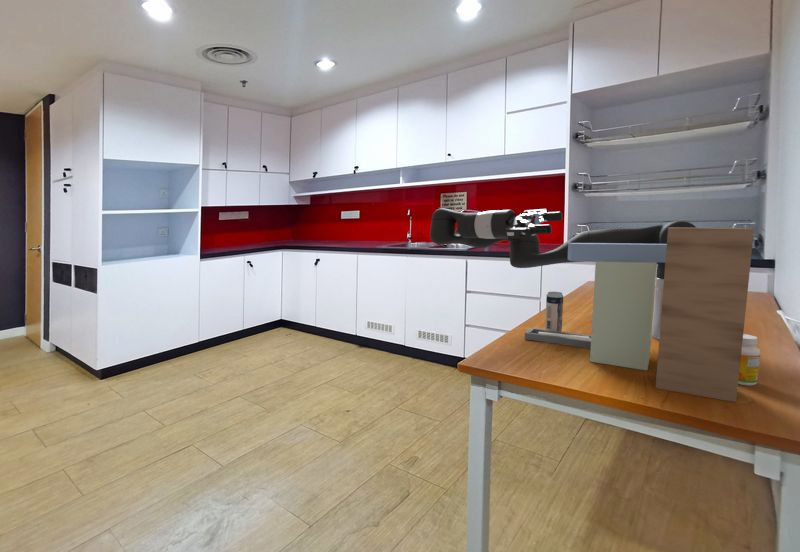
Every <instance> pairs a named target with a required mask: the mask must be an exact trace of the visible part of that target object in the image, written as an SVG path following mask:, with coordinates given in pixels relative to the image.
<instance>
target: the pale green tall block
mask: <svg viewBox="0 0 800 552" xmlns="http://www.w3.org/2000/svg"><path fill="white" fill-rule="evenodd" d="M657 266H658V262H604V261H595V266H594V269H595V270H594V284H593V299H592V300H593V303H592V320H591V334H590V335H591V349H590V353H589V362H590V363H591V362H592V363H598V364H603V365H611V366H615V367H616V366H617V367H623V368H629V369H634V370H642V371H648V369H649V363H650V358H651V345H652V325H653V313H654V300H655V286H656V272H657Z"/></svg>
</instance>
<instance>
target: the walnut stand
mask: <svg viewBox="0 0 800 552" xmlns="http://www.w3.org/2000/svg"><path fill="white" fill-rule="evenodd" d="M754 233H755V228H750V227H696V228H677V227H669V228H668V236H667V249H666V261H665V274H664V287H663V299H662V312H661V325H660V337H659V341H658V350H657V351H658V352H657V354H658V355H657V363H656V365H657V366H656V377H655V389H658V390H664V391H670V392H674V393H675V392H676V393H682V394H688V395H693V396H699V397H705V398H710V399H715V400H721V401H727V402H732V403H733V402H734V403H737V400H738V399H737V398H738V389H739V384H738V380H739V370H740V361H741V351H742V341H743V334H744V333H745V332H744V329H745V321H746V311H747V301H748V300H747V299H748V291H749V282H750V273H751V263H752V262H751V261H752V254H753V253H752V252H753V243H754Z"/></svg>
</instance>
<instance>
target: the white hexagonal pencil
mask: <svg viewBox="0 0 800 552" xmlns="http://www.w3.org/2000/svg"><path fill="white" fill-rule="evenodd" d="M538 334H544V335H551V336H558V337H566V338H573V339H581V340H588V341H591V338H589V337H587V336H577V335H567V334H557V333H547V332H538Z"/></svg>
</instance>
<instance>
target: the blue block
mask: <svg viewBox="0 0 800 552" xmlns="http://www.w3.org/2000/svg"><path fill="white" fill-rule="evenodd" d="M666 249H667V244H630V243H568V260H570V261H583V262H596V261H604V262H657V263H658V262H665V261H666Z"/></svg>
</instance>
